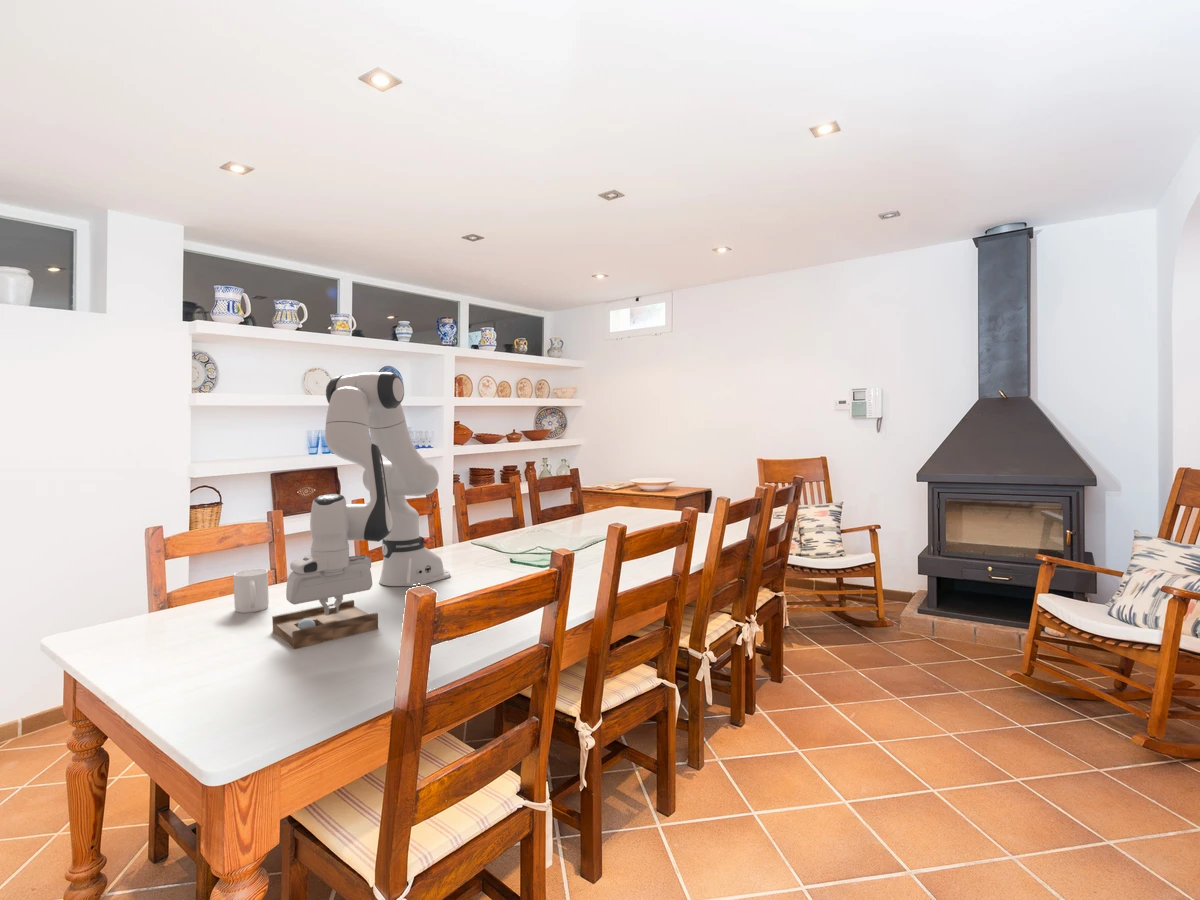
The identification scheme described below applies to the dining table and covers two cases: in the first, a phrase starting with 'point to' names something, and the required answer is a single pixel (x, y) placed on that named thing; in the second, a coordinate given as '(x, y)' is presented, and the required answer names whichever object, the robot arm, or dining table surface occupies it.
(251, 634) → the dining table surface
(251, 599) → the mug
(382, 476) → the robot arm
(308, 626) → the ball
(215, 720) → the dining table surface
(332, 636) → the wooden tray
